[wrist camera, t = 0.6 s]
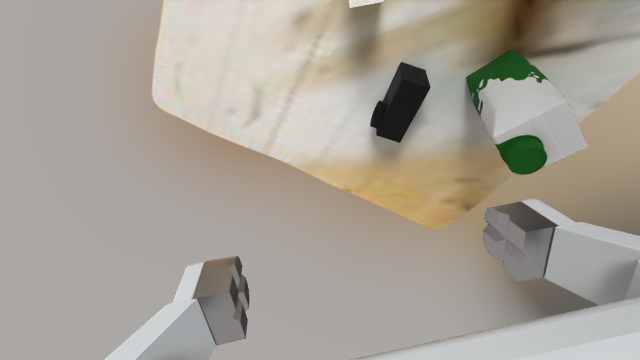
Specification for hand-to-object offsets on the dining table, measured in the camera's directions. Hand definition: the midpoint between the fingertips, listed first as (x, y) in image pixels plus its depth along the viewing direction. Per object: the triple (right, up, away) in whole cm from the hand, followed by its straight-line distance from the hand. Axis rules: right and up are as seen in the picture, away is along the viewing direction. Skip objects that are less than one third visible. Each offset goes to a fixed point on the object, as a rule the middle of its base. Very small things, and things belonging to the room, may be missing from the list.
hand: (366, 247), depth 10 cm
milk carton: (+27, +18, +40) cm, 52 cm away
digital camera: (+12, +17, +44) cm, 49 cm away
